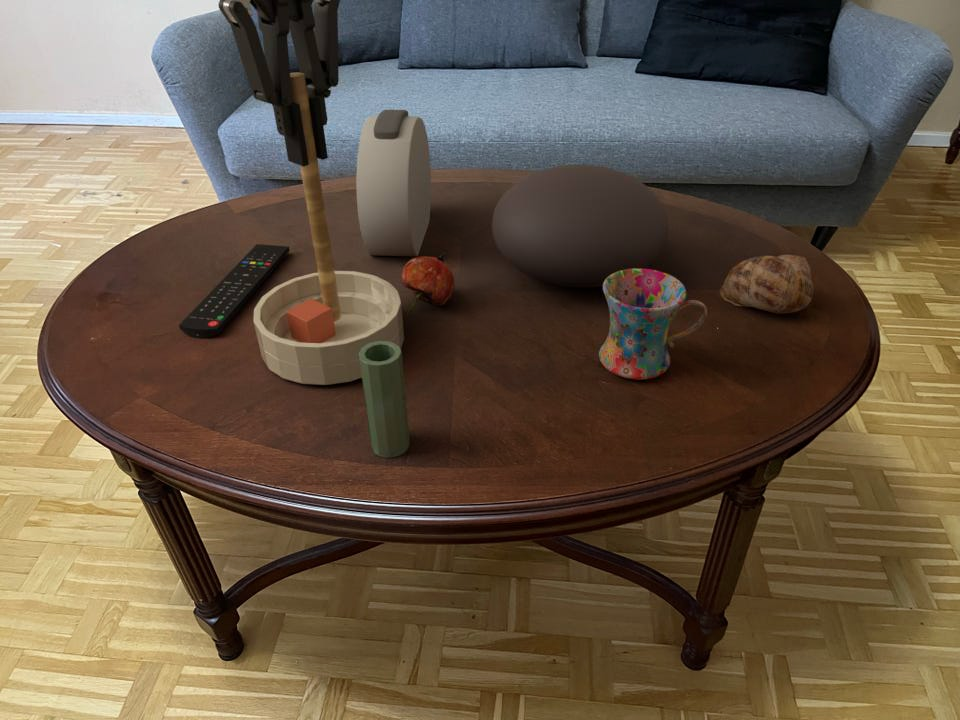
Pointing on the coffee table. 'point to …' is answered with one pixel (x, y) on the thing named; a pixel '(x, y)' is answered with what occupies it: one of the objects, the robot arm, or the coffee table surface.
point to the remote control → (233, 291)
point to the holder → (385, 398)
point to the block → (311, 322)
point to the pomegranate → (428, 279)
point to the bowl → (363, 320)
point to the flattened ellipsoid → (579, 225)
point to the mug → (642, 321)
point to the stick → (316, 201)
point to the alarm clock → (393, 184)
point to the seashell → (770, 284)
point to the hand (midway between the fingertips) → (308, 159)
